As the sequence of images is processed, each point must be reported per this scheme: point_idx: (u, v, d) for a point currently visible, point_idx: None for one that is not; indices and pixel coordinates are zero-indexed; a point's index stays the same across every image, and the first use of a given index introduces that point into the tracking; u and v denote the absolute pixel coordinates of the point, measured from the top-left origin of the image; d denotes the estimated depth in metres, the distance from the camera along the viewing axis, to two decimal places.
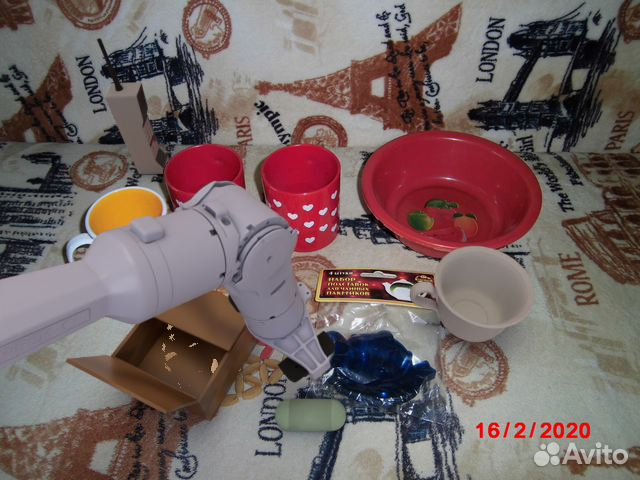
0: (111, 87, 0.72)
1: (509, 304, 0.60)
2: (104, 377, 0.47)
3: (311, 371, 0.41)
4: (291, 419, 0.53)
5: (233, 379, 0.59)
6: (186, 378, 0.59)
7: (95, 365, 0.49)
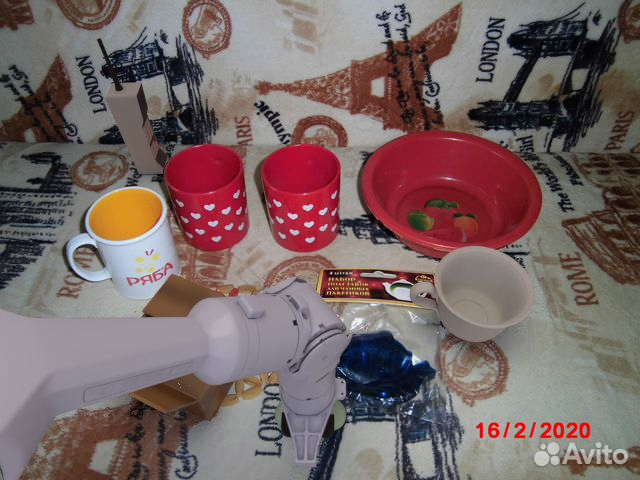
0: (111, 87, 0.72)
1: (509, 304, 0.60)
2: None
3: (296, 459, 0.44)
4: None
5: None
6: (186, 378, 0.59)
7: None
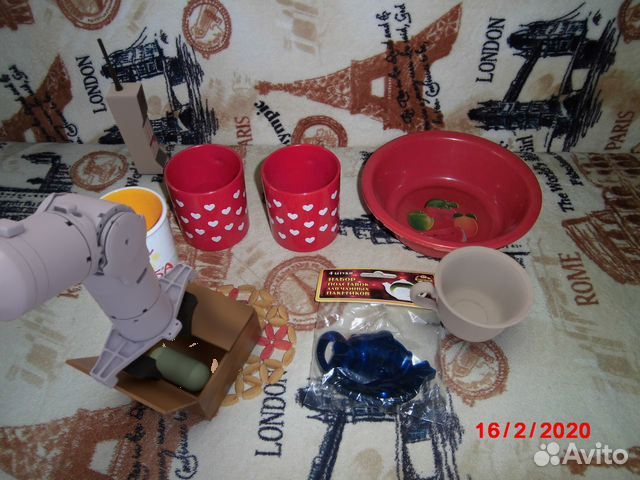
0: (111, 87, 0.72)
1: (509, 304, 0.60)
2: None
3: (91, 371, 0.44)
4: (157, 365, 0.57)
5: (233, 379, 0.59)
6: None
7: None
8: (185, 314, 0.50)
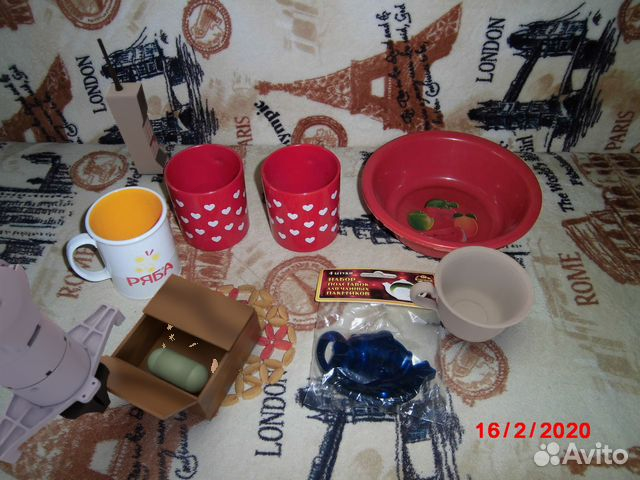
0: (111, 87, 0.72)
1: (509, 304, 0.60)
2: None
3: None
4: (155, 368, 0.57)
5: (233, 379, 0.59)
6: None
7: None
8: None
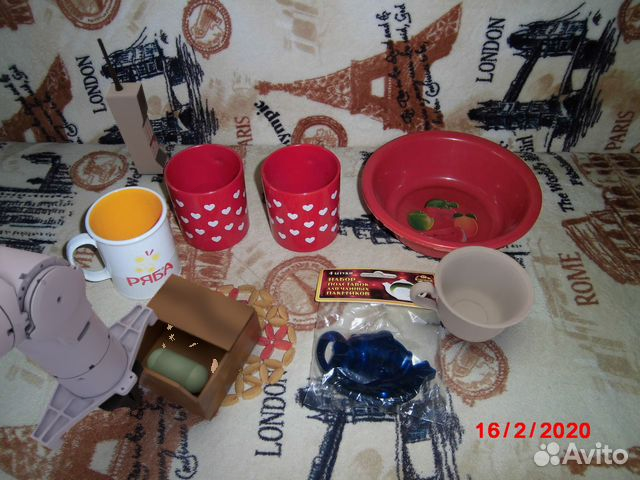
0: (111, 87, 0.72)
1: (509, 304, 0.60)
2: None
3: (32, 434, 0.39)
4: (155, 369, 0.57)
5: (233, 379, 0.59)
6: None
7: None
8: None
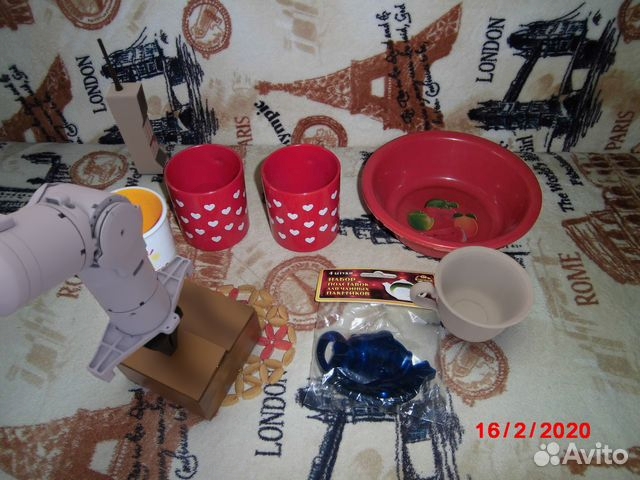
0: (111, 87, 0.72)
1: (509, 304, 0.60)
2: None
3: (87, 365, 0.43)
4: None
5: (233, 379, 0.59)
6: None
7: None
8: None
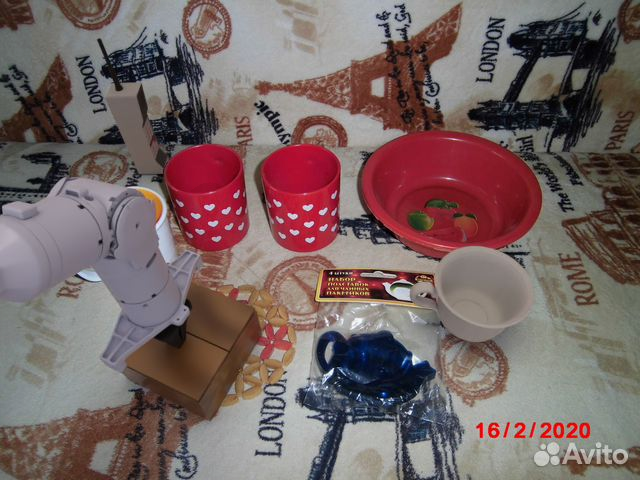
0: (111, 87, 0.72)
1: (509, 304, 0.60)
2: None
3: (101, 355, 0.44)
4: None
5: (233, 379, 0.59)
6: None
7: None
8: None
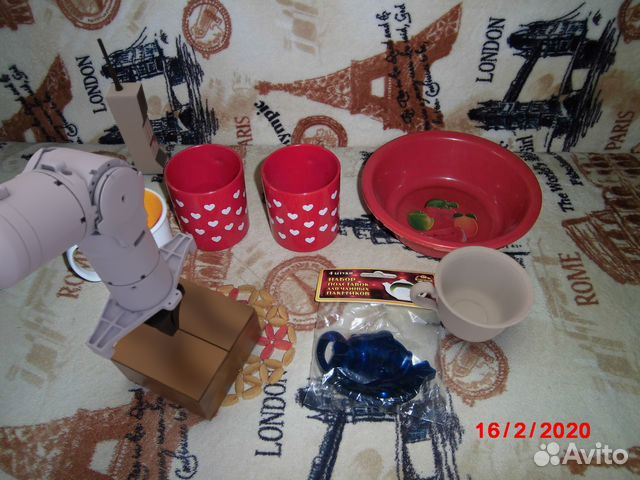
0: (111, 87, 0.72)
1: (509, 304, 0.60)
2: None
3: (87, 341, 0.42)
4: None
5: (233, 379, 0.59)
6: None
7: None
8: None
